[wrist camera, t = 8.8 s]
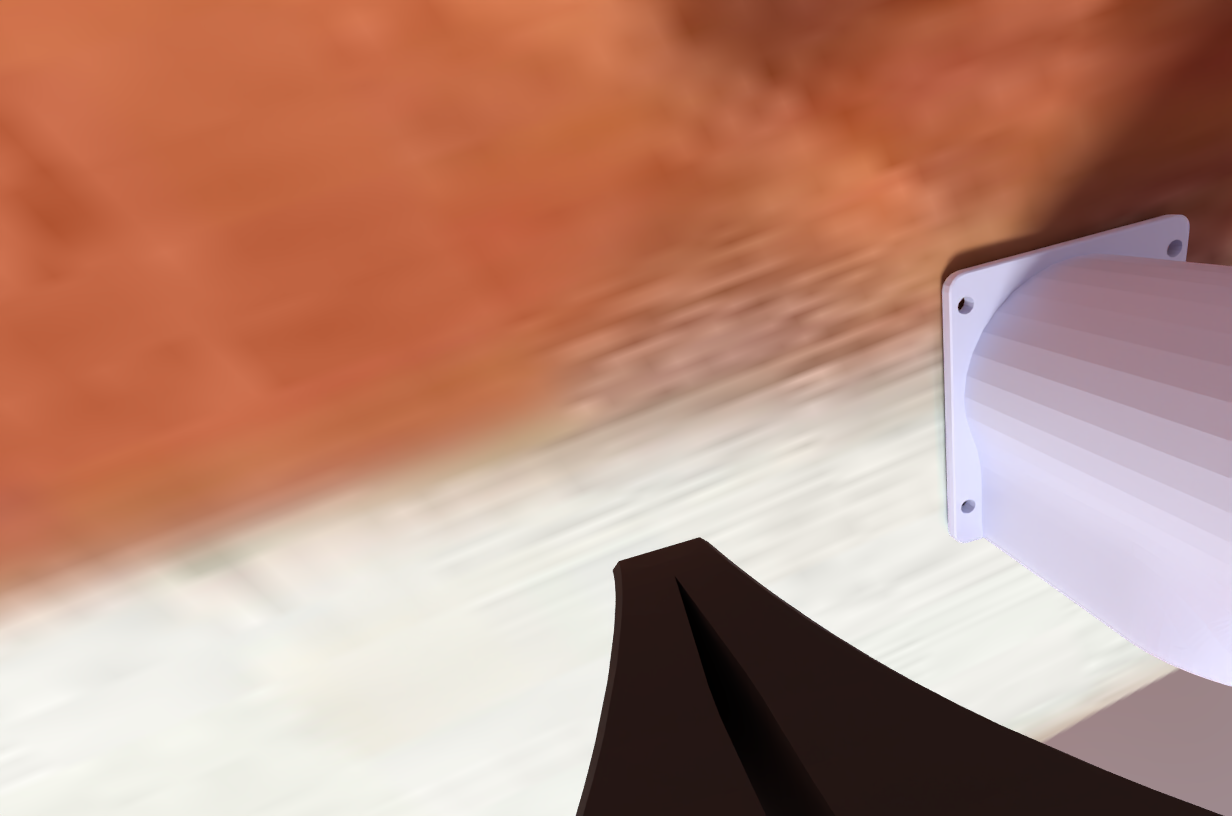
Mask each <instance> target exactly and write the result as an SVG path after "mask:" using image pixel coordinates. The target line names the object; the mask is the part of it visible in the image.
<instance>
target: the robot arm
mask: <svg viewBox="0 0 1232 816" xmlns="http://www.w3.org/2000/svg"><path fill="white" fill-rule="evenodd" d="M1189 230H1190V225H1189V221H1188V219H1187V217H1186V216H1184V215H1176V214H1169V215H1163V216H1160V217H1156V218H1152V219H1148V220H1145V221H1141V222H1137V223H1133V224H1130V225H1126V226H1122V227H1119V228H1115V229H1111V230H1107V231H1104V232H1100V233H1096V234H1092V235H1089V236H1085V237H1081V238H1077V239H1074V240H1070V241H1066V242H1063V243H1059V244H1055V245H1051V246H1048V247H1044V248H1040V249H1036V250H1033V251H1029V252H1025V253H1021V254H1018V255H1014V256H1010V257H1007V258H1003V259H999V260H995V261H992V262H988V263H984V264H980V265H977V266H973V267H969V268H965V269H962V270H958V271H956V272H954V273H951V274H950V275H949V276H948V277H947V278H946V280H945V282H944V284H943V289H942V307H943V345H944V383H945V422H946V460H947V498H948V531H949V534H950V535H951V536H952V537H953V538H954V539H955V540H956V541H958V542H960V543H968V542H971V541H974V540H978V539H981V538H985V539H987V540H988V541H989V542H991V543H992V544H994V545H995V546H996V547H998V548H999V549H1001V550H1002V551H1003V552H1005V553H1006V554H1008V555H1009V556H1010V557H1012V558H1013V559H1015V560H1016V561H1017V562H1019V563H1020V564H1022V565H1023V566H1024V567H1026V568H1027V569H1029V570H1030V571H1031V572H1033V573H1034V574H1036V575H1037V576H1038V577H1040V578H1041V579H1043V580H1044V581H1045V582H1047V583H1048V584H1050V585H1051V586H1052V587H1054V588H1055V589H1057V590H1058V591H1059V592H1061V593H1062V594H1064V595H1065V596H1066V597H1068V598H1069V599H1071V600H1072V601H1073V602H1075V603H1076V604H1078V605H1079V606H1080V607H1082V608H1083V609H1085V610H1086V611H1087V612H1089V613H1090V614H1092V615H1093V616H1094V617H1096V618H1097V619H1099V620H1100V621H1101V622H1103V623H1104V624H1106V625H1107V626H1108V627H1110V628H1111V629H1113V630H1114V631H1115V632H1117V633H1118V634H1120V635H1121V636H1122V637H1124V638H1125V639H1127V640H1128V641H1129V642H1131V643H1132V644H1134V645H1136V646H1137V647H1139V648H1141V649H1142V650H1144V651H1145V652H1147V653H1149V654H1151V655H1153V656H1155V657H1157V658H1158V659H1160V660H1162V661H1164V662H1166V663H1168V664H1171V665H1173V666H1175V667H1178V668H1180V669H1182V670H1185V671H1188V672H1190V673H1192V674H1195V675H1198V676H1201V677H1204V678H1206V679H1209V680H1212V681H1215V682H1219V683H1222V684H1225V685H1229V686H1232V266H1225V265H1215V264H1205V263H1195V262H1186V255H1187V247H1188V238H1189ZM1168 246H1169V248H1168ZM1167 249H1168V250H1167ZM962 298H964V300H965V302H964V306H963V307H962V309H961V310H959V311H958V304H959V302H960V301H961V299H962ZM965 501H967V502H966V503H965V505H964V506H962V504H963V503H964V502H965ZM613 574H614V578H615V591H616V607H615V624H614V635H613V643H612V651H611V659H610V668H609V675H608V681H607V687H606V692H605V697H604V702H603V707H602V712H601V717H600V722H599V727H598V732H597V737H596V741H595V746H594V750H593V754H592V758H591V762H590V766H589V770H588V774H587V778H586V781H585V785H584V789H583V792H582V796H581V799H580V803H579V806H578V810H577V813H576V816H1223V815H1220V814H1217V813H1215V812H1212V811H1209V810H1206V809H1204V808H1201V807H1199V806H1196V805H1193V804H1191V803H1188V802H1185V801H1182V800H1180V799H1177V798H1175V797H1172V796H1169V795H1167V794H1164V793H1161V792H1158V791H1156V790H1153V789H1151V788H1148V787H1146V786H1143V785H1141V784H1138V783H1136V782H1133V781H1131V780H1128V779H1126V778H1123V777H1121V776H1118V775H1116V774H1113V773H1111V772H1108V771H1106V770H1103V769H1101V768H1099V767H1096V766H1094V765H1092V764H1089V763H1087V762H1085V761H1082V760H1080V759H1078V758H1076V757H1073V756H1071V755H1069V754H1066V753H1064V752H1062V751H1059V750H1057V749H1055V748H1052V747H1050V746H1047V745H1045V744H1043V743H1041V742H1038V741H1036V740H1034V739H1031V738H1029V737H1027V736H1024V735H1022V734H1020V733H1018V732H1015V731H1013V730H1011V729H1008V728H1006V727H1004V726H1001V725H999V724H997V723H995V722H993V721H991V720H989V719H987V718H985V717H983V716H981V715H978V714H976V713H974V712H972V711H970V710H968V709H966V708H964V707H962V706H960V705H958V704H956V703H954V702H952V701H950V700H948V699H946V698H944V697H942V696H941V695H939V694H937V693H935V692H933V691H931V690H929V689H927V688H925V687H923V686H921V685H919V684H918V683H916V682H914V681H912V680H910V679H908V678H907V677H905V676H903V675H901V674H899V673H898V672H896V671H894V670H892V669H890V668H889V667H887V666H885V665H884V664H882V663H880V662H878V661H877V660H875V659H873V658H871V657H870V656H868V655H867V654H865V653H863V652H862V651H860V650H858V649H857V648H855V647H853V646H852V645H850V644H849V643H847V642H845V641H844V640H842V639H840V638H839V637H837V636H835V635H834V634H832V633H831V632H829V631H828V630H826V629H825V628H823V627H822V626H820V625H819V624H817V623H815V622H814V621H812V620H811V619H810V618H808V617H807V616H805V615H804V614H802V613H801V612H799V611H798V610H797V609H795V608H794V607H792V606H791V605H789V604H788V603H786V602H785V601H784V600H782V599H781V598H779V597H778V596H776V595H775V594H774V593H772V592H771V591H769V590H768V589H767V588H765V587H764V586H763V585H761V584H760V583H759V582H757V581H756V580H755V579H753V578H752V577H751V576H749V575H748V574H747V573H746V572H744V571H743V570H742V569H740V568H739V567H738V566H737V565H735V564H734V563H733V562H732V561H730V560H729V559H728V558H727V557H725V556H724V555H723V554H722V553H721V552H719V551H718V550H717V549H716V548H715V547H713V546H712V545H711V544H710V543H709V542H707V541H705V540H704V539H702V538H700V537H699V538H696V539H692V540H689V541H685V542H682V543H679V544H675V545H672V546H669V547H665V548H662V549H658V550H655V551H652V552H648V553H645V554H642V555H638V556H635V557H632V558H628V559H625V560H621V561H619V562H618V563H617V565H616V566H615V568H614V569H613Z"/></svg>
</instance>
